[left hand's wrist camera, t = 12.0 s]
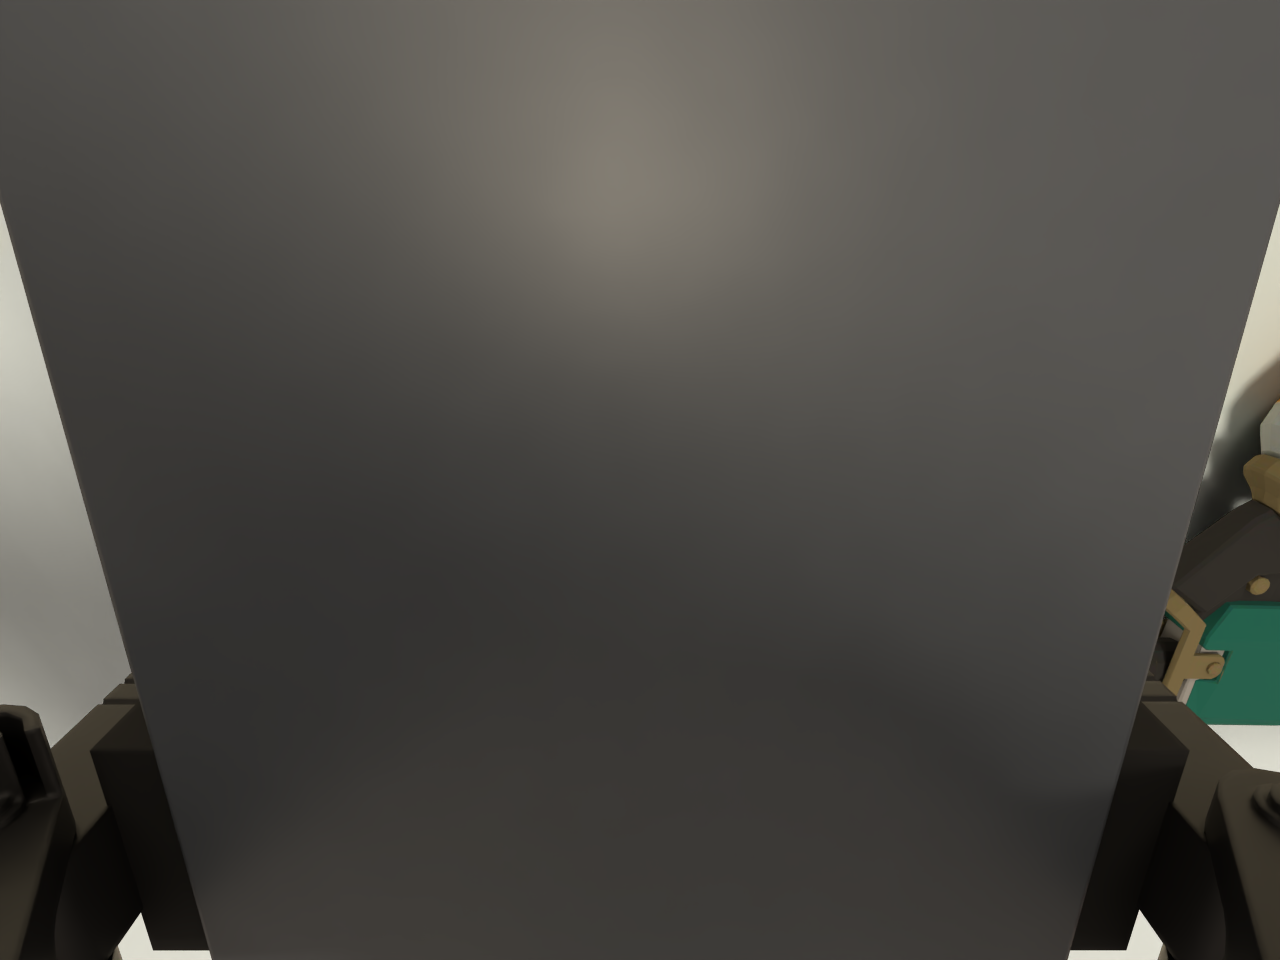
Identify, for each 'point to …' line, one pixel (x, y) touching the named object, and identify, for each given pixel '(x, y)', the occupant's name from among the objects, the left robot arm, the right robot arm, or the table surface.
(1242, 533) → the spray gun
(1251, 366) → the table surface
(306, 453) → the long gray bar
